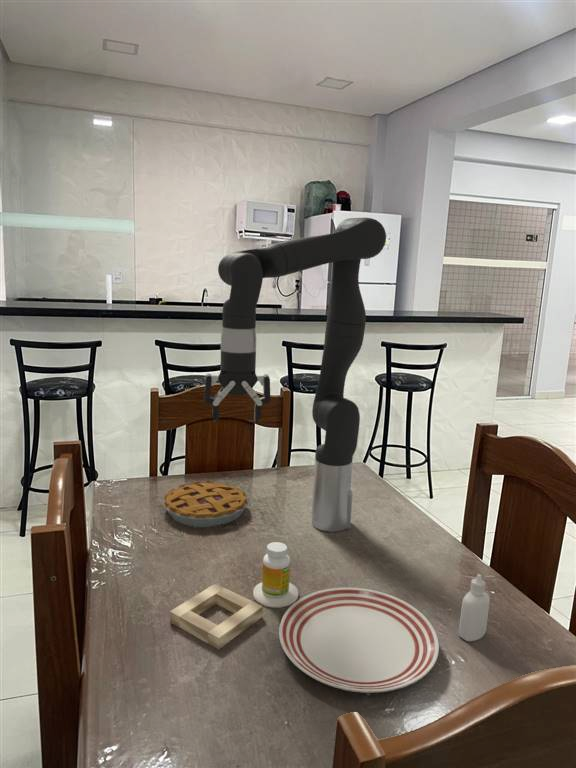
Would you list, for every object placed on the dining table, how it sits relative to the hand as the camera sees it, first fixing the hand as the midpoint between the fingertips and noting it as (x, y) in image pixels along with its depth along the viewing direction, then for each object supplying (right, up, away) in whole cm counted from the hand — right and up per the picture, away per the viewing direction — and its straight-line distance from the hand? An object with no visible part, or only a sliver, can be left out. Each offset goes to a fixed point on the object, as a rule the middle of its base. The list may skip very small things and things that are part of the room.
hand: (236, 421), depth 129 cm
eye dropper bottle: (+45, -38, -22) cm, 62 cm away
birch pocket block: (-2, -35, -20) cm, 41 cm away
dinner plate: (+23, -38, -26) cm, 52 cm away
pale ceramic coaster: (+9, -34, -12) cm, 37 cm away
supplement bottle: (+9, -33, -12) cm, 36 cm away
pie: (-10, -25, +25) cm, 37 cm away
